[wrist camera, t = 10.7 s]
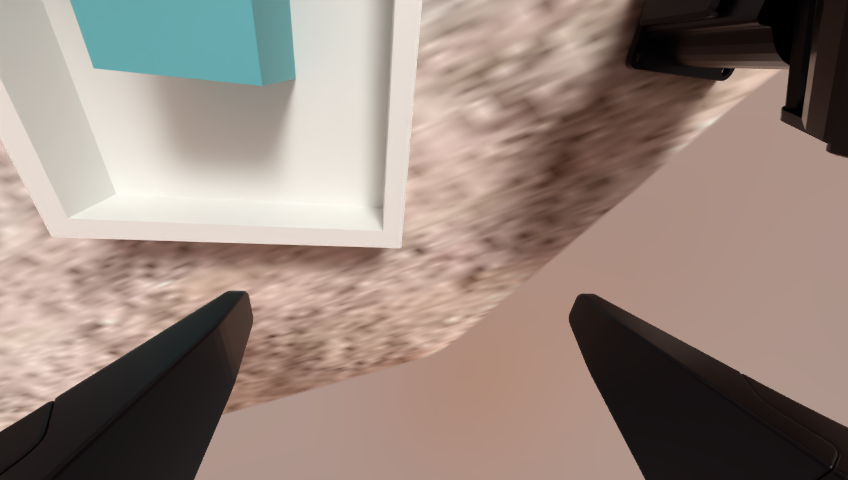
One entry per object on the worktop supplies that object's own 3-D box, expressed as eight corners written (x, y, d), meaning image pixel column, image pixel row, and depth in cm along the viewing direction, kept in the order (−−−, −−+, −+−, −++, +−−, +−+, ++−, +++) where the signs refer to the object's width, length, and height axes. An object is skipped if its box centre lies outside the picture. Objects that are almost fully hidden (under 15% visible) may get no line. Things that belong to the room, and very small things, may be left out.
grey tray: (437, -314, 11) (463, -489, 7) (397, 216, 20) (401, 248, 17) (-162, -505, 8) (-548, -908, 5) (115, 203, 18) (52, 237, 14)
